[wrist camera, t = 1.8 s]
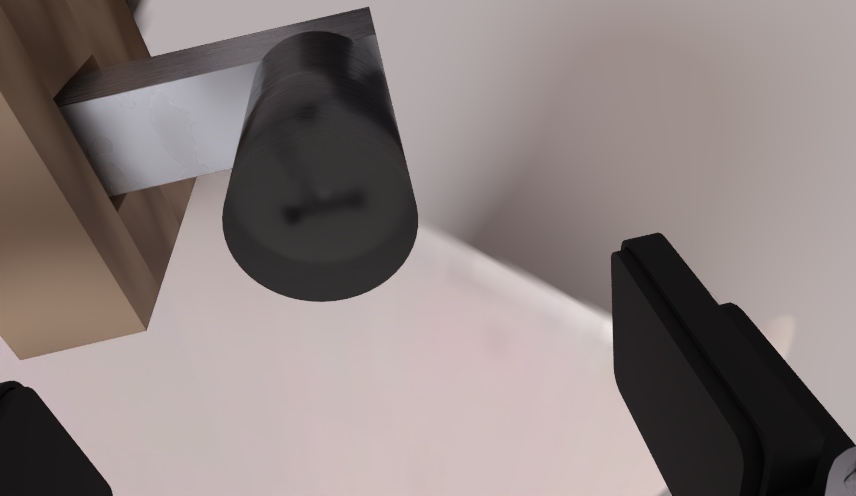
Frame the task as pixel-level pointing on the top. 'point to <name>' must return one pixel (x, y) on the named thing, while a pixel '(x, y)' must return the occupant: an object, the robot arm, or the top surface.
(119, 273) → the brown wooden block
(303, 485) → the top surface
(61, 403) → the top surface
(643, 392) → the robot arm
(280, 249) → the grey piece
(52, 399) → the top surface
